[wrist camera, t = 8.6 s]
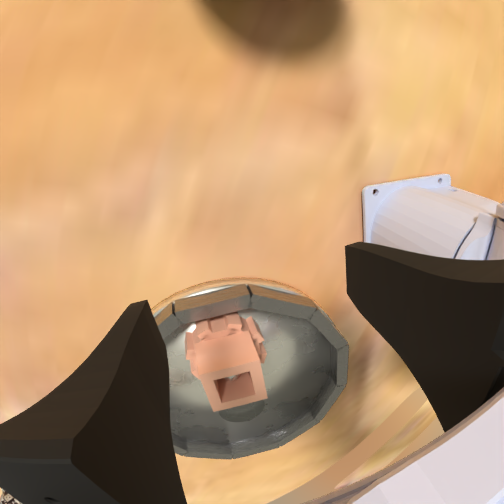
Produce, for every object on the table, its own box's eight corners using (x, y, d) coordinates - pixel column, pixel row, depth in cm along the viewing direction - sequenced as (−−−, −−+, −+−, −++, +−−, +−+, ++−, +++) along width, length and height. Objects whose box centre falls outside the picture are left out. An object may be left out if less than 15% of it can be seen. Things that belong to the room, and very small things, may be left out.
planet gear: (253, 300, 22) (273, 343, 17) (263, 356, 24) (282, 402, 19) (176, 318, 21) (178, 367, 16) (196, 373, 23) (203, 422, 18)
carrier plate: (333, 250, 23) (370, 280, 18) (334, 408, 31) (354, 442, 26) (83, 310, 20) (65, 354, 16) (165, 451, 28) (168, 490, 23)
